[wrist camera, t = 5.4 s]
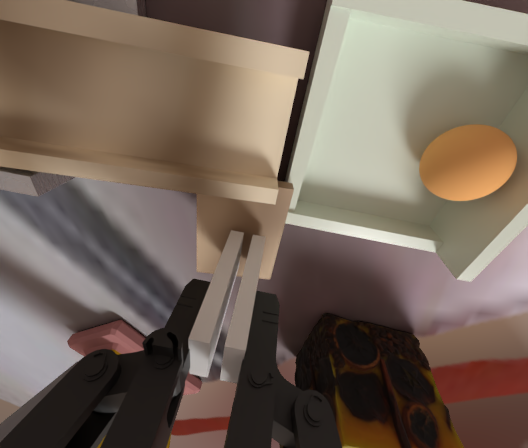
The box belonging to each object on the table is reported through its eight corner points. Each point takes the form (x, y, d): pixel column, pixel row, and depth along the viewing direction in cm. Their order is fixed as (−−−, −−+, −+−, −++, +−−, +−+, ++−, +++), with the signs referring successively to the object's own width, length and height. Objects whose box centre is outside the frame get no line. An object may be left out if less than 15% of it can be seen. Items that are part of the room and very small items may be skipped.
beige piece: (-110, 217, 15) (-215, 261, 12) (-387, -90, 8) (-855, -197, 5) (269, 260, 18) (271, 307, 14) (319, 57, 11) (345, 57, 7)
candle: (323, 309, 23) (341, 443, 15) (418, 332, 24) (485, 473, 16) (292, 357, 29) (293, 473, 21) (369, 375, 30) (399, 494, 21)
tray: (280, 200, 17) (276, 244, 13) (328, -6, 11) (352, -51, 6) (427, 229, 17) (470, 281, 13) (559, 41, 11) (724, 27, 7)
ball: (495, 212, 12) (432, 180, 15) (557, 140, 10) (470, 118, 12) (454, 218, 10) (392, 181, 13) (516, 136, 8) (428, 112, 11)
